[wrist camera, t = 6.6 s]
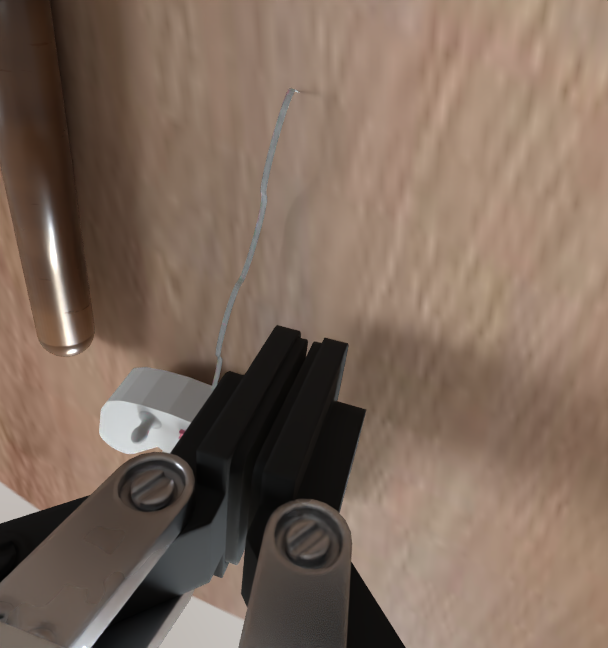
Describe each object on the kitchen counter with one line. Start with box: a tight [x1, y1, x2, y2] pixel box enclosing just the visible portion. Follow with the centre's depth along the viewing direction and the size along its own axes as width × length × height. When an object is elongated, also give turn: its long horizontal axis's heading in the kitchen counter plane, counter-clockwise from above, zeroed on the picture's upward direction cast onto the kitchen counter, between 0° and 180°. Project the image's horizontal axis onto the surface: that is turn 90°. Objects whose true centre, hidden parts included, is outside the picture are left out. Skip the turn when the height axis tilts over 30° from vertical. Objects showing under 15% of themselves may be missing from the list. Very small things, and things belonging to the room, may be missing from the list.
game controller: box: [99, 88, 298, 454], centre depth 12 cm, size 6×12×3 cm, turn 2°
